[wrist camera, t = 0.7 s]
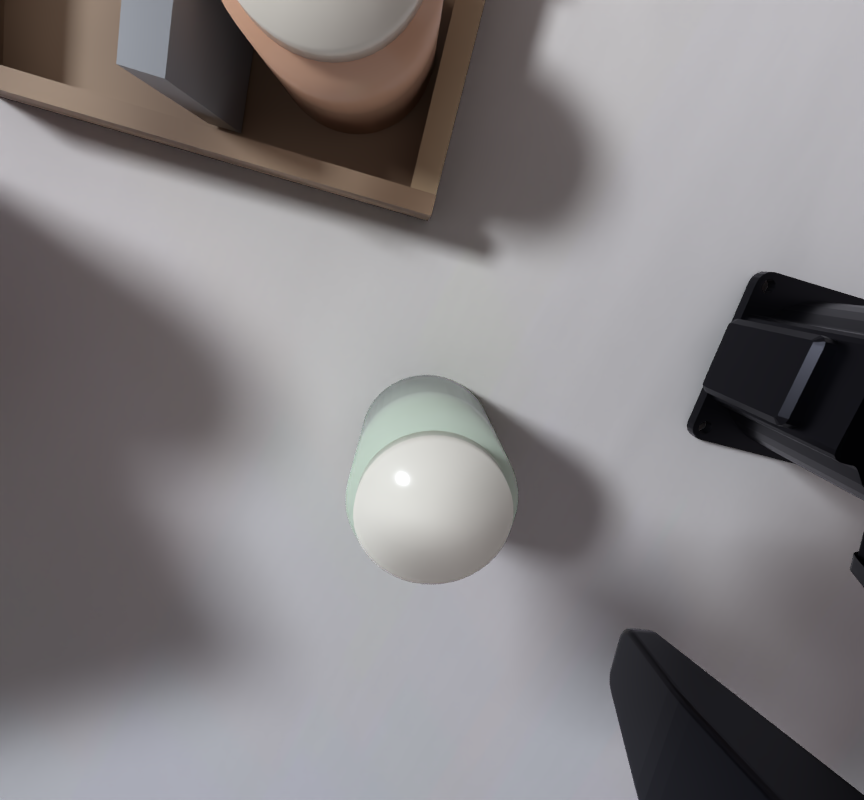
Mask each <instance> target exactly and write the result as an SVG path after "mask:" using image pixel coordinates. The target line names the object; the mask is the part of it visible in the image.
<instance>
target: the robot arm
mask: <svg viewBox="0 0 864 800" xmlns="http://www.w3.org/2000/svg"><path fill="white" fill-rule="evenodd" d="M766 280H767V282H768V287H767V289H766V290H765V291H764V292H763V291H762V284H763V283H764V282H765V281H766ZM705 421H706V425H705V427H704V428H703V429H701V430H699V426H700V425H701V423H703V422H705ZM687 429H688V431H689V433H690V434H692V435H693V436H695V437H696V438H698V439H701V440H704V441H708V442H712V443H716V444H720V445H724V446H728V447H732V448H736V449H740V450H744V451H748V452H752V453H756V454H760V455H764V456H768V457H771V458H775V459H779V460H783V461H787V462H791V463H795V464H797V465H799V466H801V467H803V468H805V469H807V470H809V471H810V472H812V473H814V474H816V475H818V476H820V477H821V478H823V479H825V480H827V481H829V482H831V483H832V484H834V485H836V486H838V487H840V488H842V489H843V490H845V491H847V492H849V493H851V494H853V495H855V496H856V497H858V498H860V499H862V500H864V299H861V298H857V297H854V296H851V295H848V294H844V293H841V292H838V291H834V290H831V289H828V288H825V287H821V286H818V285H815V284H811V283H808V282H805V281H802V280H798V279H795V278H792V277H788V276H785V275H782V274H779V273H775V272H759V273H757V274H755V275H754V276H753V277H752V278H751V279H750V281H749V283H748V285H747V287H746V290H745V292H744V294H743V297H742V299H741V301H740V303H739V306H738V308H737V310H736V313H735V315H734V317H733V319H732V322H731V323H730V324H729V325H728V327H727V329H726V332H725V334H724V336H723V339H722V341H721V343H720V345H719V348H718V350H717V352H716V355H715V357H714V359H713V361H712V364H711V366H710V368H709V371H708V373H707V375H706V378H705V380H704V382H703V388H702V390H701V393H700V395H699V397H698V400H697V402H696V404H695V406H694V409H693V411H692V413H691V416H690V418H689V420H688V424H687ZM850 570H851V572H852V573H853V574H854V576H855V577H856V578H857V580H858V581H859V582H860V583H861V585H862V586H863V587H864V533H863V537H862V541H861V545H860V549H859V552H855V553H854V554H853V558H852V563H851V567H850ZM610 689H611V693H612V697H613V701H614V705H615V709H616V713H617V717H618V721H619V725H620V729H621V733H622V737H623V741H624V745H625V749H626V753H627V757H628V761H629V765H630V769H631V773H632V777H633V781H634V785H635V789H636V792H637V796H638V799H639V800H864V795H863V794H862V793H860V792H859V791H858V790H857V789H855V788H854V787H853V786H851V785H850V784H849V783H848V782H846V781H845V780H844V779H842V778H841V777H840V776H839V775H837V774H836V773H835V772H834V771H832V770H831V769H830V768H828V767H827V766H826V765H825V764H823V763H822V762H821V761H819V760H818V759H817V758H816V757H814V756H813V755H812V754H810V753H809V752H808V751H807V750H805V749H804V748H803V747H802V746H800V745H799V744H798V743H796V742H795V741H794V740H793V739H791V738H790V737H789V736H787V735H786V734H785V733H784V732H782V731H781V730H780V729H778V728H777V727H776V726H775V725H773V724H772V723H771V722H769V721H768V720H767V719H766V718H764V717H763V716H762V715H761V714H759V713H758V712H757V711H755V710H754V709H753V708H752V707H750V706H749V705H748V704H746V703H745V702H744V701H743V700H741V699H740V698H739V697H737V696H736V695H735V694H734V693H732V692H731V691H730V690H729V689H727V688H726V687H725V686H723V685H722V684H721V683H720V682H718V681H717V680H716V679H714V678H713V677H712V676H711V675H709V674H708V673H707V672H705V671H704V670H703V669H702V668H700V667H699V666H698V665H696V664H695V663H694V662H693V661H691V660H690V659H689V658H688V657H686V656H685V655H684V654H682V653H681V652H680V651H679V650H677V649H676V648H675V647H673V646H672V645H671V644H670V643H668V642H667V641H666V640H664V639H663V638H662V637H661V636H659V635H658V634H657V633H655V632H653V631H650V630H641V629H626V630H624V631H623V632H622V634H621V636H620V639H619V643H618V646H617V650H616V653H615V657H614V660H613V664H612V667H611V671H610Z"/></svg>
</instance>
